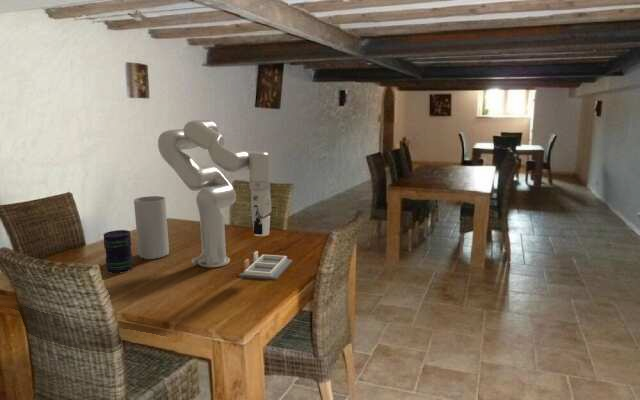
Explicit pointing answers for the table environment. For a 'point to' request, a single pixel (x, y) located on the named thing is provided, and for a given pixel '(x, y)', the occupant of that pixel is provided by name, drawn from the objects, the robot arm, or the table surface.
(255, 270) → the well board
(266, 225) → the shot glass
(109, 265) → the storage jar
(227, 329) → the table surface
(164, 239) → the cylinder vase
